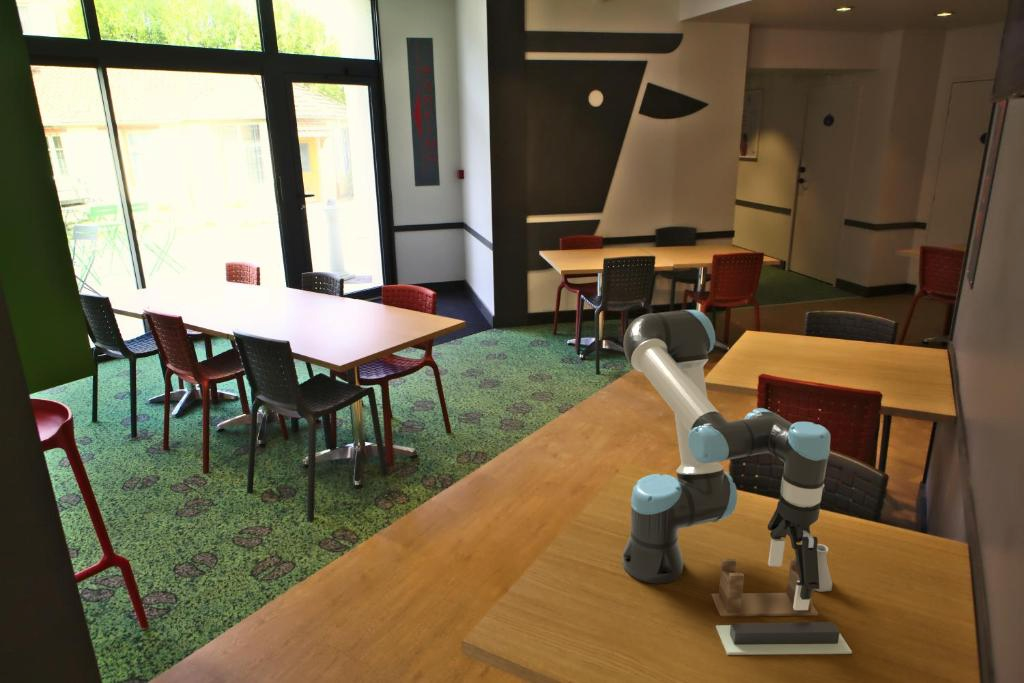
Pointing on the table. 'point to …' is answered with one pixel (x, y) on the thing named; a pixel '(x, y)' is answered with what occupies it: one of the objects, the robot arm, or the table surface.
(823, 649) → the mat
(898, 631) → the table surface
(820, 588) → the flask
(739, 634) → the rail
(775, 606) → the rack
